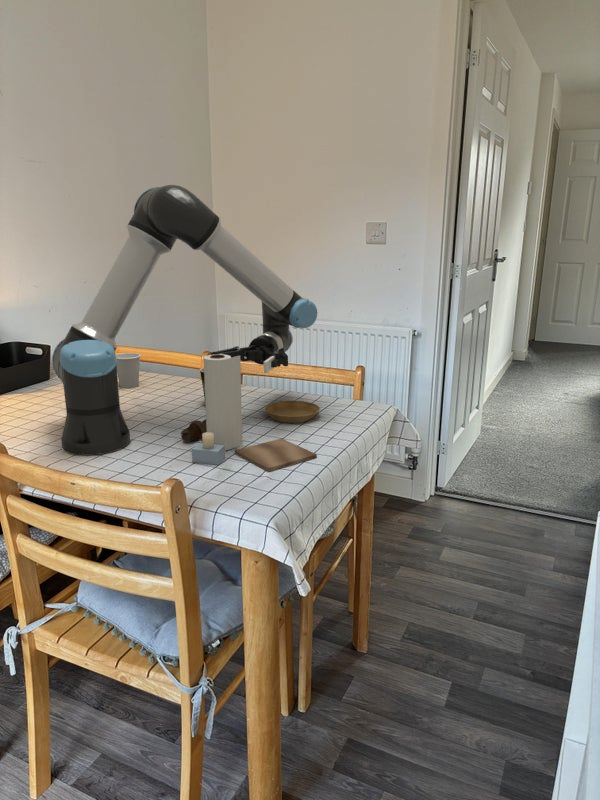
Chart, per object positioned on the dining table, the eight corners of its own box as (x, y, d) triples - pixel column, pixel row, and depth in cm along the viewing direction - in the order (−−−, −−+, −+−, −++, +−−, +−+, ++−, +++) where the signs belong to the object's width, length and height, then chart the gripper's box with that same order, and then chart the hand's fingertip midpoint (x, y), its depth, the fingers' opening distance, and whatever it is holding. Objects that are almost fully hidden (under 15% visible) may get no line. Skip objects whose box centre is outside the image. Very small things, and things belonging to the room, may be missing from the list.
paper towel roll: (202, 450, 133) (198, 357, 127) (214, 441, 138) (210, 352, 132) (232, 453, 131) (229, 360, 125) (242, 444, 136) (240, 354, 130)
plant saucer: (256, 413, 160) (256, 404, 160) (303, 406, 167) (303, 397, 166) (279, 429, 148) (279, 419, 147) (329, 420, 154) (330, 411, 154)
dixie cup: (110, 386, 186) (107, 355, 184) (131, 381, 193) (129, 351, 190) (127, 390, 182) (124, 359, 179) (148, 385, 188) (146, 354, 185)
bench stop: (200, 455, 130) (198, 429, 128) (225, 458, 128) (224, 432, 127) (192, 462, 126) (191, 435, 124) (218, 464, 124) (217, 438, 123)
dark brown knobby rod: (183, 450, 138) (224, 430, 150) (196, 444, 135) (237, 424, 147) (172, 428, 138) (214, 410, 150) (185, 421, 135) (227, 403, 147)
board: (268, 472, 121) (268, 468, 121) (234, 453, 131) (234, 450, 131) (316, 457, 129) (316, 454, 128) (281, 441, 138) (281, 438, 138)
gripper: (310, 364, 157) (288, 384, 137) (223, 359, 163) (190, 378, 143) (310, 336, 155) (288, 352, 135) (222, 333, 161) (188, 348, 141)
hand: (237, 366), depth 139 cm, fingers open, 13 cm apart
